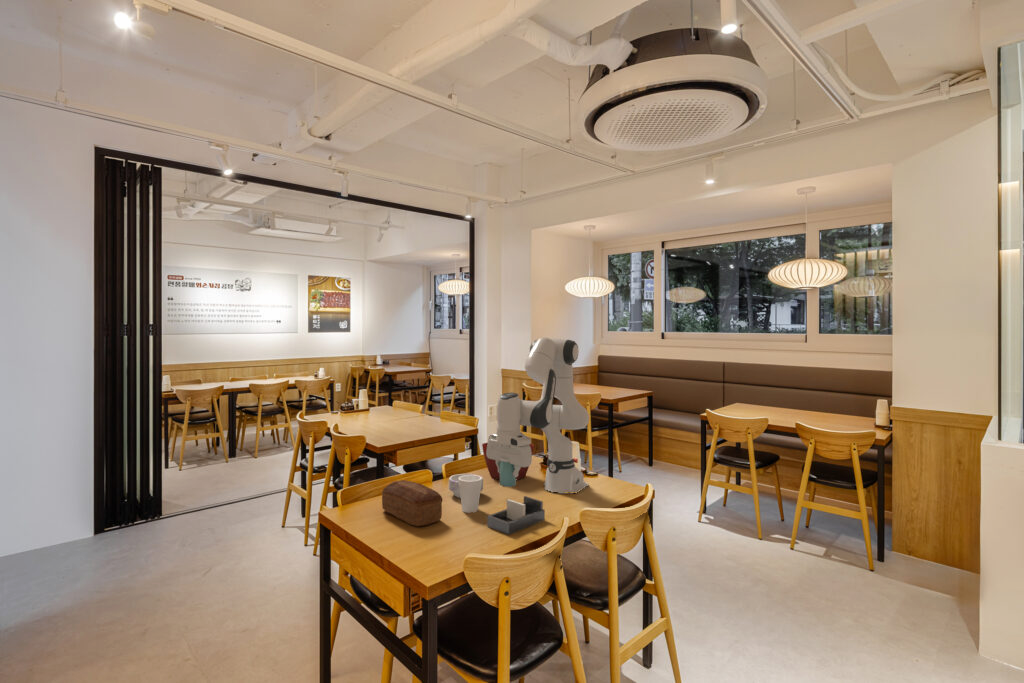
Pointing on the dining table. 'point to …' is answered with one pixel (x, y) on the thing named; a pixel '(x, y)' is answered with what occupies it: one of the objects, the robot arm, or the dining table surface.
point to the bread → (412, 502)
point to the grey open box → (509, 526)
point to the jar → (506, 473)
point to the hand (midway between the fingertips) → (507, 474)
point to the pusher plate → (515, 509)
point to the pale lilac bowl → (455, 484)
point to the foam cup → (470, 492)
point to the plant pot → (494, 469)
